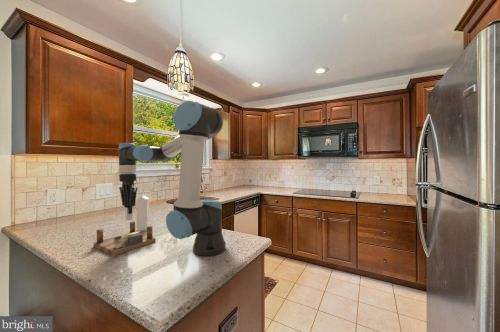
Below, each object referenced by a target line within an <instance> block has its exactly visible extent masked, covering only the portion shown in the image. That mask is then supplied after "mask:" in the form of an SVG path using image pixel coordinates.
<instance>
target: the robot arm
mask: <svg viewBox="0 0 500 332" xmlns="http://www.w3.org/2000/svg"><path fill="white" fill-rule="evenodd" d="M172 122H173V124H174V127H175V128H176V129H177V130H178V135H177V136H176V137H173V139H171V140H169V141H167V142H166V143H165V144H163V145H160V146H159V147H158V146H149V145H146V144H139V145H136V144H135V143H133V142H120V143H119V144H118V149H117V150H118V151H117V152H118V173H119V175H118V177H119V178H118V180H119V182H121V183H122V184H121V186H119V187H118V189H119V191H120V198H121V204H122V206H124V210H125V221H126V222H128V221H132V220H133V207H136V200H137V191H138V190H139V189H138V186H135V182H136V181H137V174H136V173H137V162H164V163H165V162H166V163H167V162H171V161H173V159H174V157H175V156H176V155H178V154H179V153H180V155H181V157H180V168H179V170H180V171H179V181H178V193H177V194H178V195H177V200H175V201H174V202H173V208H172V210H170V211H169V212H168V213H167V214H166V217H165V223H166V228H167V230H168V232H169V233H170V235H171V236H172V237H174V238H176V239H178V240H183V239H186V238H187V239H188V238H190V237H192V236H194V235H195V238H194V242H193V245H192V253H193V254H194V255H196V256H200V257H212V256H217V255H219V254H221V253H224V252H225V251H226V247H227V246H226V245H227V244H226V241H225V239H224V236H223V230H222V229H223V224H222V223H223V220H222V219H223V217H222V216H223V215H222V214H223V212H222V211H223V209H222V208H223V207H222V203H221V201H219V200H209V199H208V200H207V199H205V200H204V199H201V190H202V188H201V187H202V177H203V163H204V162H203V161H204V151H205V142H206V141H207V140H210V139H213V138H214V137H215V136H217V135H218V134H219V133H220V132H221V130H222V129H223V126H224V119H223V116H222V114H221V113H220V112H219V110H217V109H215V108H214V107H210V106H207V105H205V104H202V103H199V102H198V101H193V100H185V101H182V102H180V103H179V105H178V106H177V107H175V110H174V113H173V116H172Z"/></svg>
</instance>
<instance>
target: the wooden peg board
mask: <svg viewBox="0 0 500 332" xmlns="http://www.w3.org/2000/svg"><path fill="white" fill-rule="evenodd" d="M133 232H136V221H130V222H129V232H127V233H123V234H120V235H119V236H124V235H127V234H130V233H133ZM114 237H115V236H114ZM114 237H109V238H106V239H104V229H103V228H101V229H100V228H99V229H97V230H96V241H95V242H93V248H95V249H96V250H99V251H102V252H105V253H106V254H109V255H111V256H113V257H115V256H118V255H120V254H121V255H122V254H124V253H127V252H131V251H133V250H135V249H136V250H137V249H138V248H141V247H145V246H147V245H150V244H153V243H156V241H157V240H156V239H157V238H156V237H155V236H153V226H152V225H150V226H148V227H147V230H146V234H143V233H141V234H137V235H134V236H130V237H128V242H129V244H128V245H125V246H122V247H120V248H114Z"/></svg>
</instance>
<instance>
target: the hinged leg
mask: <svg viewBox="0 0 500 332" xmlns="http://www.w3.org/2000/svg"><path fill="white" fill-rule="evenodd" d="M129 233H130V232H129ZM126 234H127V233H126ZM137 234H142V231H137V230H136V231H135V232H133V233H130V234H127V235H124V236H120V235H117V236H114V248H120V247H122V246H125V245H128V244H129V242H128V237H130V236H134V235H137Z"/></svg>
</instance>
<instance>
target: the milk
mask: <svg viewBox="0 0 500 332" xmlns="http://www.w3.org/2000/svg"><path fill="white" fill-rule="evenodd" d="M135 207H136V210H135V213H136V217H135V218H136V220H135V228H136V232H137V231H140V232H143V231H144V232H145V231H147V227H148V226H151V225H150V224H151V223H150V220H151V219H150V218H151V217H150V216H151V214H150V211H151V210H150V197H148V196H146V195H145V193H142V194H141V195H140V197H139V198H136V202H135Z"/></svg>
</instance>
